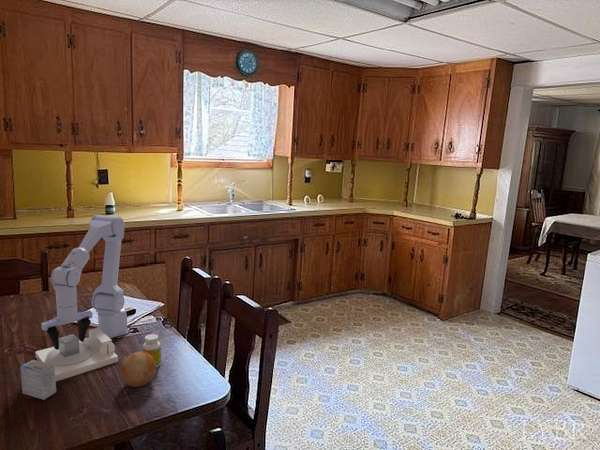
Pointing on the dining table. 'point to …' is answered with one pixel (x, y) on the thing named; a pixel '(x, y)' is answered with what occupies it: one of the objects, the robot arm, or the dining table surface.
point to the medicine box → (38, 379)
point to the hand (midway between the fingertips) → (69, 344)
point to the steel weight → (69, 345)
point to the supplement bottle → (153, 348)
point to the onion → (138, 369)
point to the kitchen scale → (81, 356)
